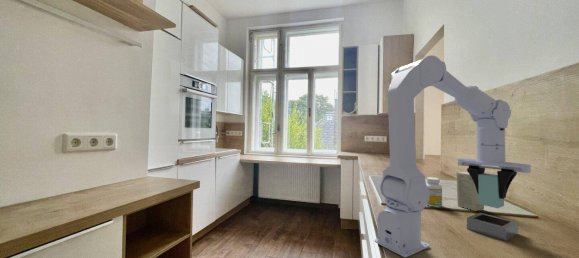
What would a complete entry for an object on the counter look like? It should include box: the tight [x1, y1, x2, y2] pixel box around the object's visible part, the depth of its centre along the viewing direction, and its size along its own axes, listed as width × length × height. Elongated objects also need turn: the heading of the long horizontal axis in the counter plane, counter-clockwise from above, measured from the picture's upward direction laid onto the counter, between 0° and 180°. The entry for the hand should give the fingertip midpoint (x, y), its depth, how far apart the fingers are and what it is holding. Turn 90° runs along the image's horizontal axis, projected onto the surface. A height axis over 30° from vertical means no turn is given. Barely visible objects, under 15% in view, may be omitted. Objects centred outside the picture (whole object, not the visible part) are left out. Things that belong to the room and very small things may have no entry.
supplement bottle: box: [426, 176, 443, 208], centre depth 81 cm, size 5×5×10 cm
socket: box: [466, 212, 519, 242], centre depth 59 cm, size 8×8×3 cm
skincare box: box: [455, 171, 485, 212], centre depth 78 cm, size 6×4×12 cm
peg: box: [478, 172, 505, 209], centre depth 59 cm, size 4×4×8 cm
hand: (491, 195), depth 59 cm, fingers closed on peg, 4 cm apart
